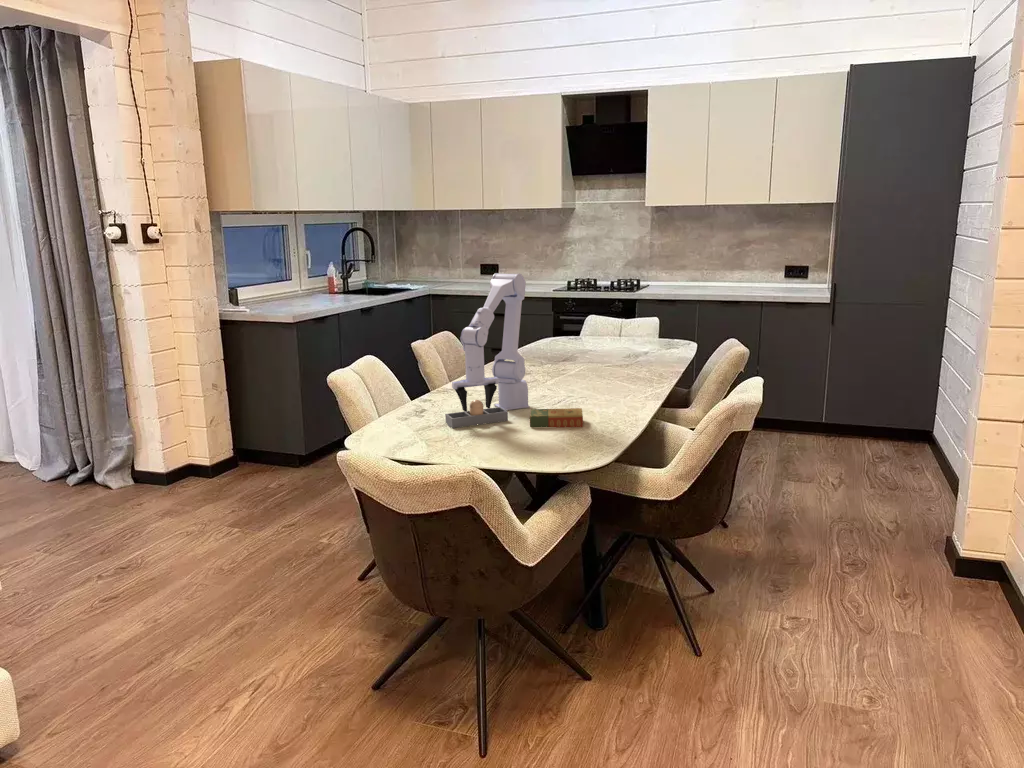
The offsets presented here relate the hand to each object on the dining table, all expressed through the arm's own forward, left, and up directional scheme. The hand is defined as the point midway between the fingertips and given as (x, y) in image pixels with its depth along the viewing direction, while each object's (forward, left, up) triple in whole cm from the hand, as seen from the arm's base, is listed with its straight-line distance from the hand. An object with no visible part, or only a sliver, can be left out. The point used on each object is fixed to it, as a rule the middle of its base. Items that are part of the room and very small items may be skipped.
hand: (476, 409), depth 231 cm
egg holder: (0, 0, -4) cm, 4 cm away
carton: (-21, +13, -5) cm, 25 cm away
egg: (0, 0, -3) cm, 3 cm away
